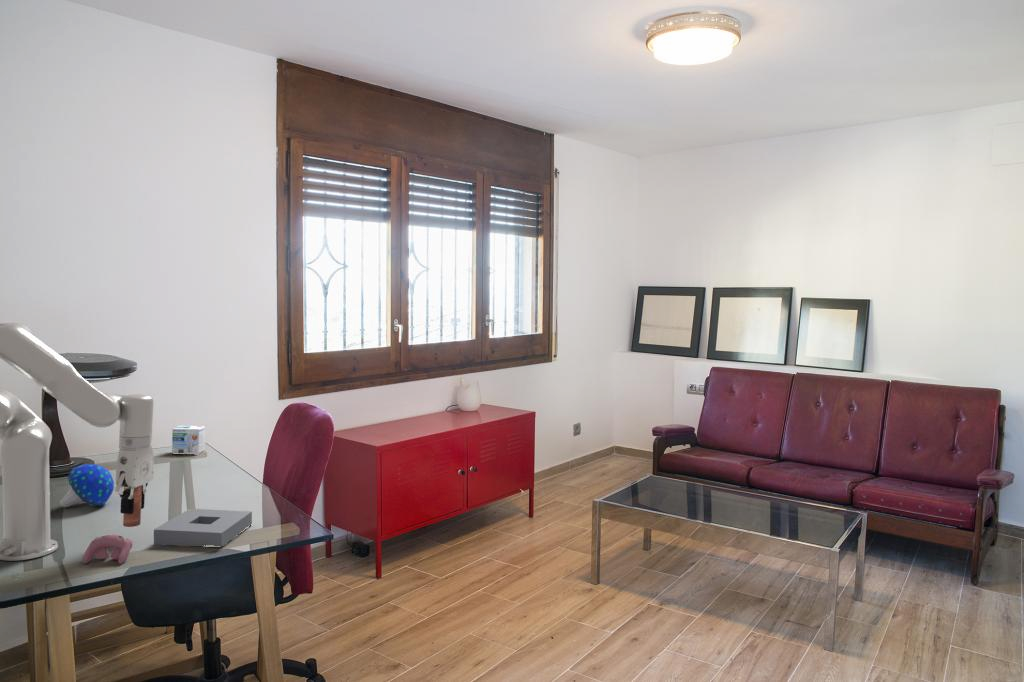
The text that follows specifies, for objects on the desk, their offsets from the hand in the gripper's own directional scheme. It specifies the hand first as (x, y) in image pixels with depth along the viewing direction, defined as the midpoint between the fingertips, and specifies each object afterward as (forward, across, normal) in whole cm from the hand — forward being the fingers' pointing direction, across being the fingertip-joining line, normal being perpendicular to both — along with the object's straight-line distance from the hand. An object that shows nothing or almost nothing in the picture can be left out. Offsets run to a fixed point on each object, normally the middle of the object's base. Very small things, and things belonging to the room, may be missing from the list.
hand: (132, 510), depth 182 cm
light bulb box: (+7, +96, +36) cm, 102 cm away
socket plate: (+7, +6, -17) cm, 19 cm away
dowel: (+4, 0, 0) cm, 4 cm away
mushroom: (+8, +25, +29) cm, 39 cm away
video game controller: (+8, -15, -3) cm, 17 cm away
